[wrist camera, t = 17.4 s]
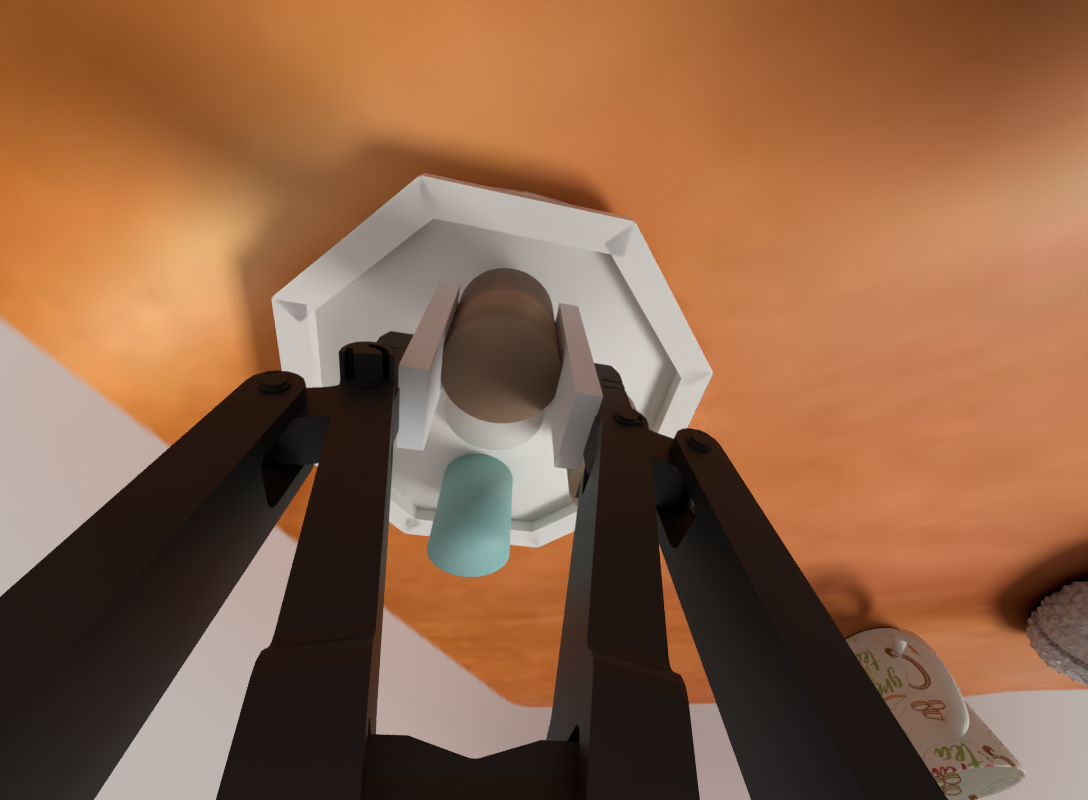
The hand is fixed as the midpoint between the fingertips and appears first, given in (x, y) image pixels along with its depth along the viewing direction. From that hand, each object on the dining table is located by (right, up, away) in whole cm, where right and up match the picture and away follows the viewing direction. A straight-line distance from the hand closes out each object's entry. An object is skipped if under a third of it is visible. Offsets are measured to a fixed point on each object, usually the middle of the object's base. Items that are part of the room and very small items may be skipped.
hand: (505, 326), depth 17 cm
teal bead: (-2, -8, +8) cm, 11 cm away
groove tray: (-1, -3, +6) cm, 7 cm away
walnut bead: (0, +1, +1) cm, 1 cm away
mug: (+31, -23, +21) cm, 44 cm away
